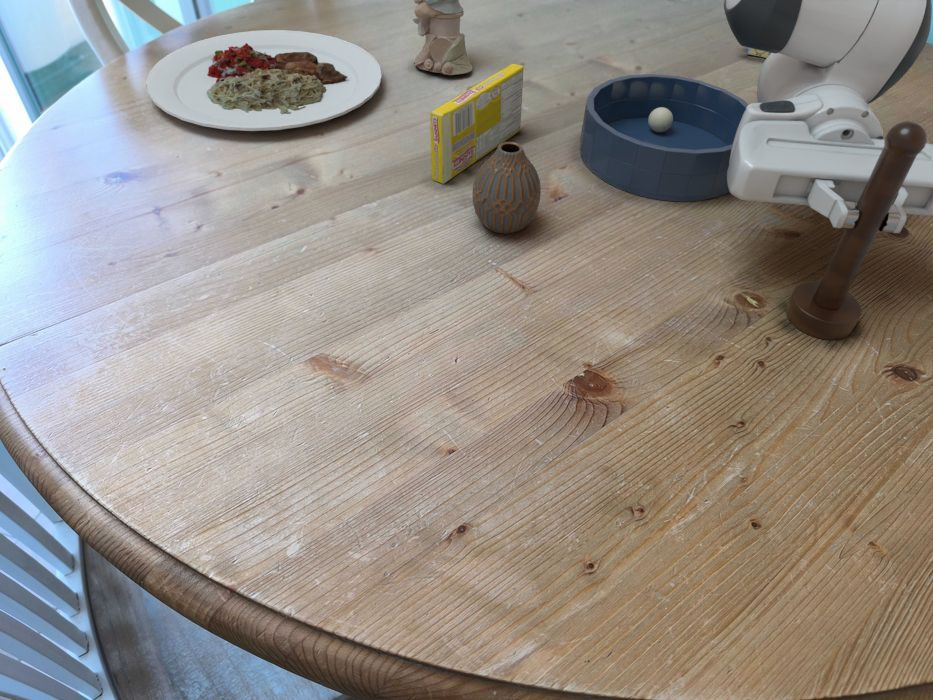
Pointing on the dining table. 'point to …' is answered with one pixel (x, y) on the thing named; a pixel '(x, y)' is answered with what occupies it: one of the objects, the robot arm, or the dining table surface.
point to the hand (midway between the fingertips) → (870, 223)
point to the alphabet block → (758, 52)
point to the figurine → (441, 37)
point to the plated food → (264, 80)
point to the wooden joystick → (856, 242)
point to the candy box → (475, 122)
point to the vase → (506, 190)
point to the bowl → (661, 136)
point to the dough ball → (660, 119)
